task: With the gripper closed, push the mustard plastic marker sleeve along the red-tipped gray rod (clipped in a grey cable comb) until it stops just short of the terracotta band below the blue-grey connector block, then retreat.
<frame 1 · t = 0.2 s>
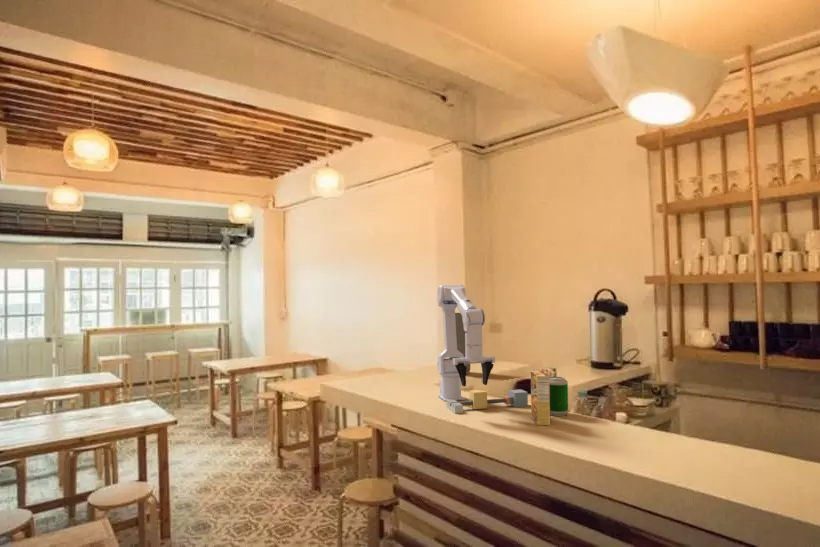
hand: (474, 385, 164), 10 cm above the counter, fingers open, 7 cm apart
sleeve: (478, 399, 173), point 3 cm above the counter, slide at 0.0 cm
connector: (518, 405, 177), on the counter
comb: (454, 410, 171), on the counter
soda can: (556, 414, 164), on the counter
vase: (459, 373, 245), on the counter
red-tipped gray rod: (487, 407, 174), resting on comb
candy box: (540, 422, 155), on the counter
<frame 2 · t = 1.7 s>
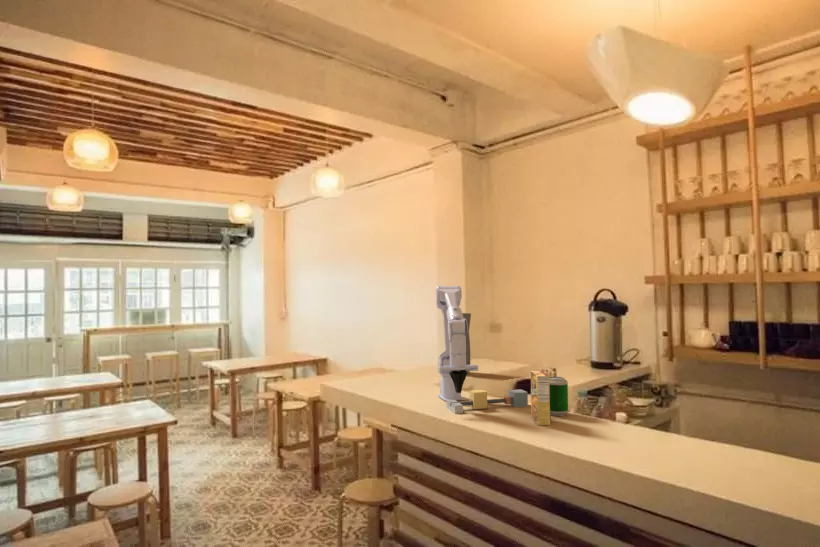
hand: (458, 392, 171), 6 cm above the counter, fingers closed
nothing on the counter moved.
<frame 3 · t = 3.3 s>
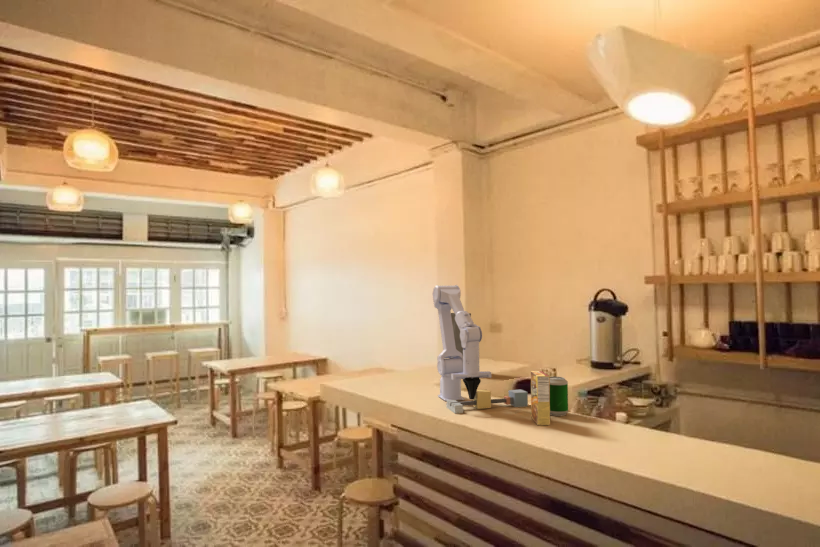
hand: (471, 399, 172), 3 cm above the counter, fingers closed
sleeve: (482, 398, 173), point 3 cm above the counter, slide at 1.4 cm, touching gripper
everything else where it was.
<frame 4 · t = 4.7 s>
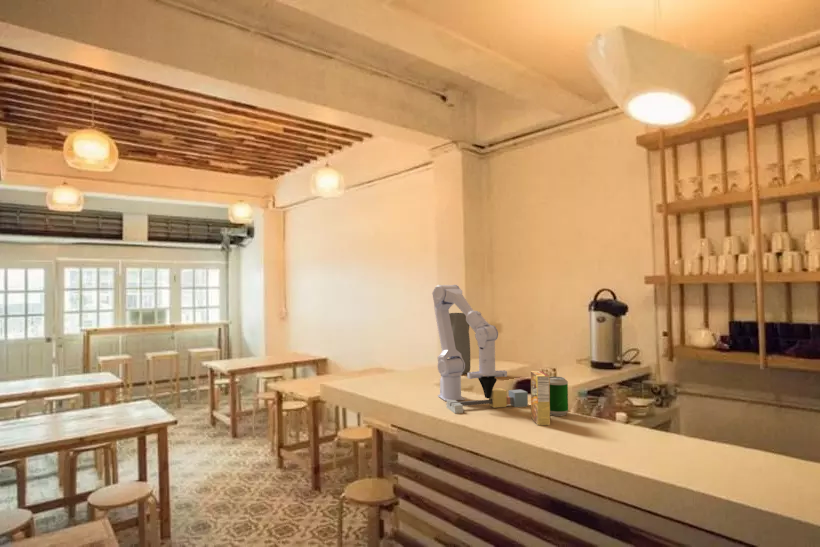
hand: (487, 397, 174), 3 cm above the counter, fingers closed
sleeve: (497, 397, 175), point 3 cm above the counter, slide at 7.5 cm, touching gripper
everything else where it was.
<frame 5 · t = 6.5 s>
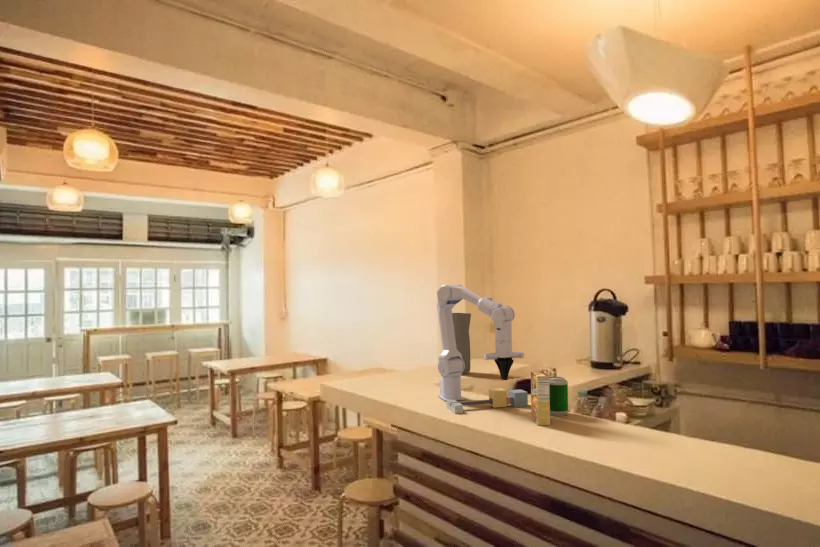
hand: (504, 379, 170), 10 cm above the counter, fingers closed
sleeve: (497, 397, 175), point 3 cm above the counter, slide at 7.5 cm
everything else where it was.
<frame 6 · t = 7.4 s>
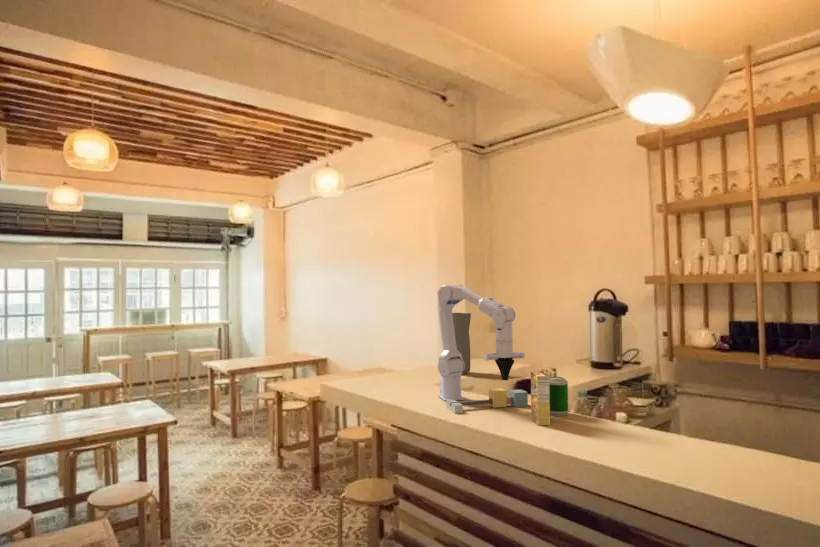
hand: (504, 379, 170), 10 cm above the counter, fingers closed
nothing on the counter moved.
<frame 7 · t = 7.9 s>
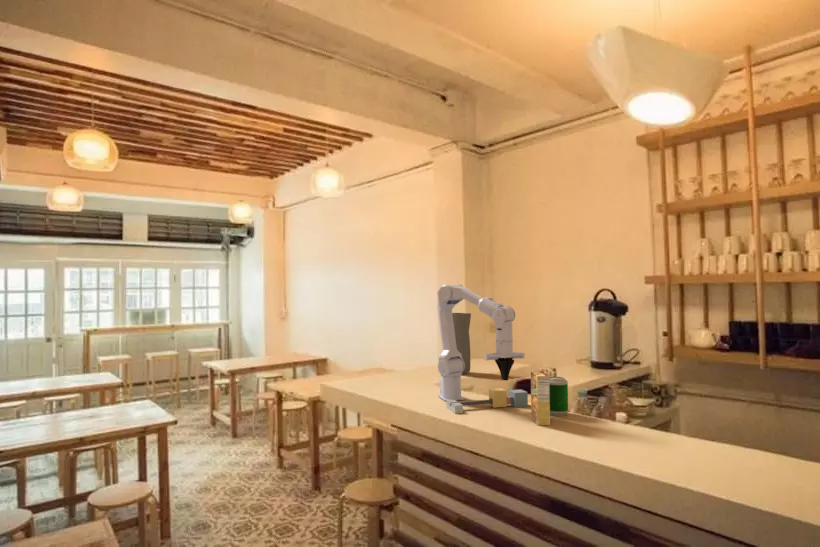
hand: (504, 379, 170), 10 cm above the counter, fingers closed
nothing on the counter moved.
at the end: sleeve slide at 7.5 cm; the gripper is holding nothing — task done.
